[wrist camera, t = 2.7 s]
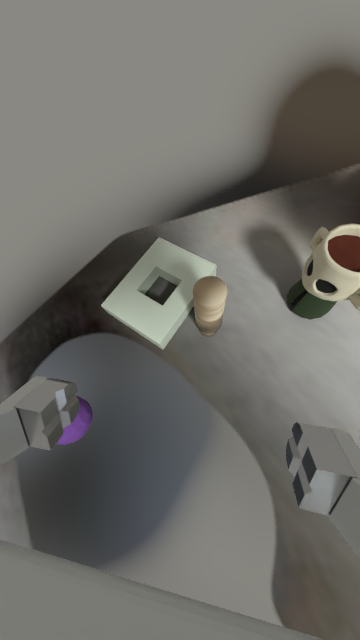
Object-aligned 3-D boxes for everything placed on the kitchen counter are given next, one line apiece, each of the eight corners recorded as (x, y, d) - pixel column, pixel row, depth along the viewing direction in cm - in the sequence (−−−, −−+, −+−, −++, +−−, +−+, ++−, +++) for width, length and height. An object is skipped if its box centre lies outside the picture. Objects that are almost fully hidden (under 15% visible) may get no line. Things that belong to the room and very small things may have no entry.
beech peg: (224, 323, 35) (234, 285, 24) (212, 343, 34) (215, 312, 23) (204, 312, 37) (204, 270, 25) (191, 330, 36) (185, 295, 25)
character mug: (269, 282, 37) (300, 223, 25) (308, 268, 38) (357, 203, 26) (304, 340, 33) (360, 302, 21) (347, 324, 33) (428, 277, 21)
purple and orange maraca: (-64, 448, 29) (71, 384, 29) (-19, 448, 34) (97, 393, 34) (-76, 503, 26) (76, 431, 26) (-25, 494, 31) (103, 433, 31)
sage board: (215, 275, 39) (216, 265, 36) (163, 349, 35) (159, 344, 32) (161, 248, 42) (158, 237, 40) (108, 312, 38) (100, 305, 36)
